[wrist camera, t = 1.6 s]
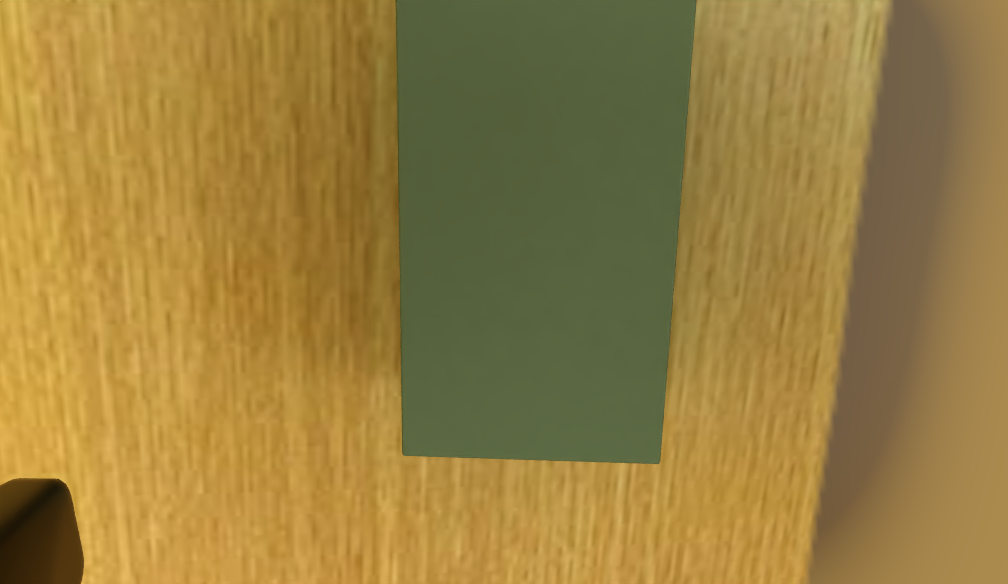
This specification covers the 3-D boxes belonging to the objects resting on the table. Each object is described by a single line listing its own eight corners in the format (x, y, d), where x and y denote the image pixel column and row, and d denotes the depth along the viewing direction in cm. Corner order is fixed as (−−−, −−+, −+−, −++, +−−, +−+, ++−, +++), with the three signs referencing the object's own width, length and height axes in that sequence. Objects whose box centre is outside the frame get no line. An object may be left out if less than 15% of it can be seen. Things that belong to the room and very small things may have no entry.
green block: (640, 391, 22) (660, 465, 18) (422, 384, 22) (402, 456, 18) (669, -25, 19) (698, -27, 16) (419, -30, 19) (394, -33, 16)
